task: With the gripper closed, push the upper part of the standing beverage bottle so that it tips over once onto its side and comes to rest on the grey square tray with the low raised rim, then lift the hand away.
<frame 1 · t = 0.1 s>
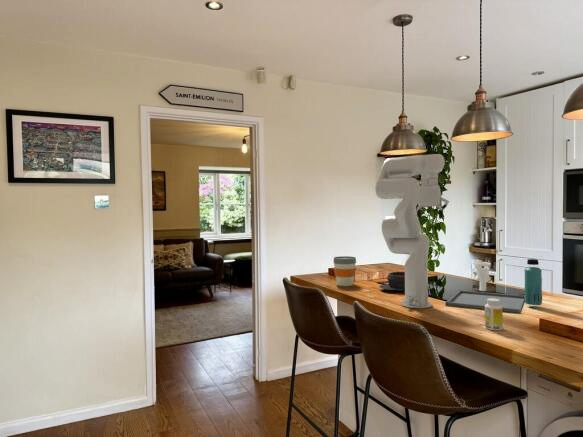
hand: (430, 218, 199), 37 cm above the table, tool pointing down, fingers open, 9 cm apart
reusable coffee cup: (345, 284, 231), on the table
beverage bottle: (533, 307, 173), on the table
cup and saucer: (403, 290, 213), on the table
grey square tray: (485, 302, 183), on the table
supplement bottle: (493, 329, 145), on the table
white tall piece: (482, 290, 207), on the table
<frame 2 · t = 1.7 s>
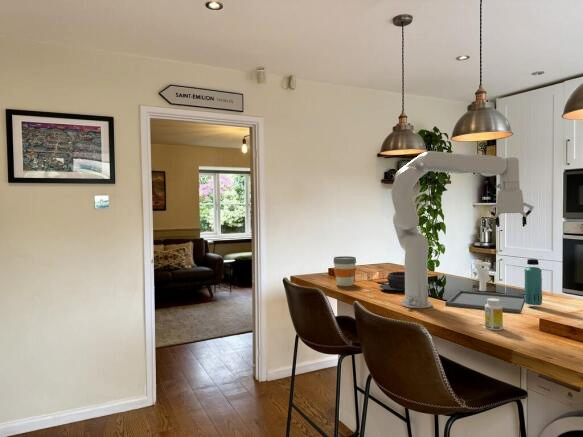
hand: (510, 226, 178), 33 cm above the table, tool pointing down, fingers open, 9 cm apart
nothing on the table moved.
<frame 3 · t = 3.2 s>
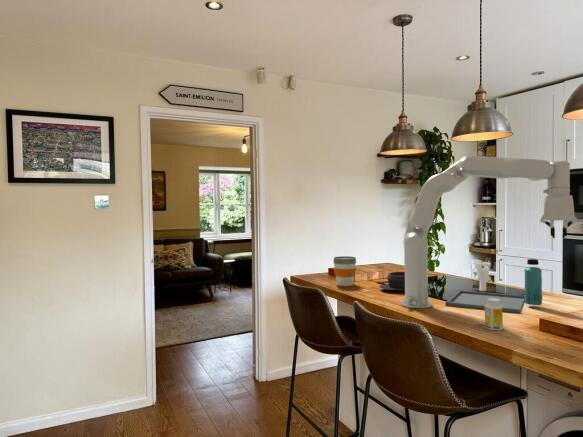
hand: (558, 237, 167), 29 cm above the table, tool pointing down, fingers closed
nothing on the table moved.
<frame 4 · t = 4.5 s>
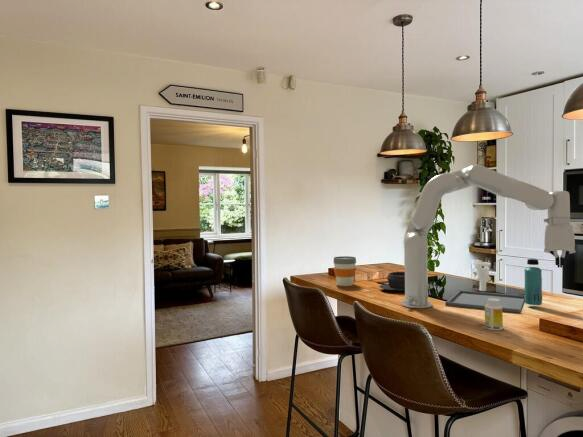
hand: (559, 267, 167), 17 cm above the table, tool pointing down, fingers closed
nothing on the table moved.
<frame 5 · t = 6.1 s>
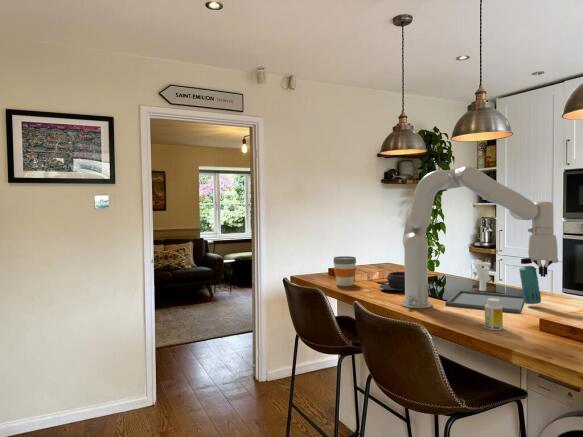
hand: (543, 276, 171), 13 cm above the table, tool pointing down, fingers closed
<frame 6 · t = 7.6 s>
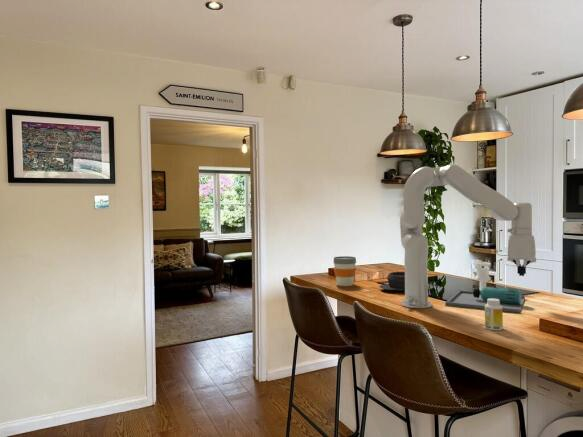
hand: (521, 275, 175), 13 cm above the table, tool pointing down, fingers closed
beverage bottle: (525, 297, 174), point 4 cm above the table, touching grey square tray
everything else where it was.
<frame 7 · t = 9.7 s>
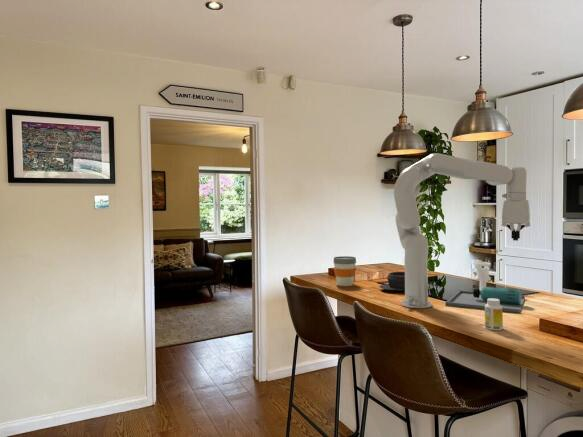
hand: (515, 240, 175), 28 cm above the table, tool pointing down, fingers closed
nothing on the table moved.
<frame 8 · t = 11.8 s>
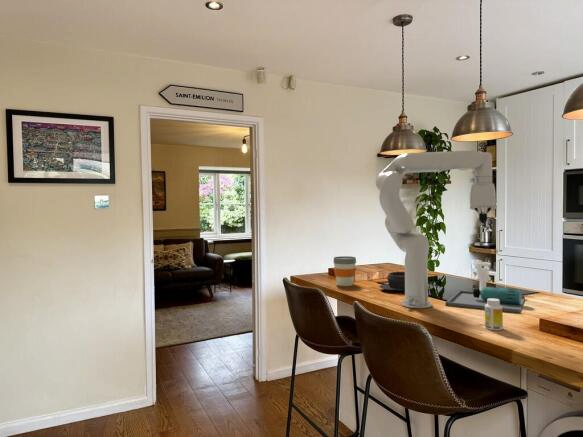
hand: (483, 222, 183), 35 cm above the table, tool pointing down, fingers closed
nothing on the table moved.
at the end: beverage bottle tilted 90°; beverage bottle touching grey square tray; beverage bottle inside the target area (11.1 cm from its centre), point 3.7 cm above the table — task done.
